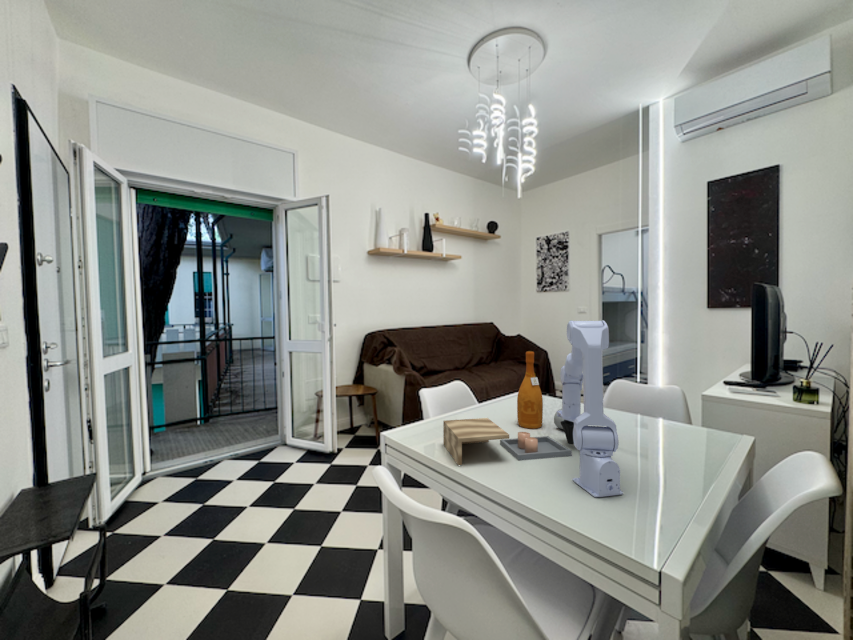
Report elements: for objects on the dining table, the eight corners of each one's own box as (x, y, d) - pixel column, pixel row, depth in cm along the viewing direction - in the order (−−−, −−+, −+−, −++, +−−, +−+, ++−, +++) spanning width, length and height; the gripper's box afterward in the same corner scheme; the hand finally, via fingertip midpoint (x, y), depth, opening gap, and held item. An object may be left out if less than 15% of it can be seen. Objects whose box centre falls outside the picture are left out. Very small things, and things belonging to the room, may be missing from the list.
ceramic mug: (569, 435, 132) (569, 414, 132) (553, 428, 139) (553, 409, 139) (590, 431, 136) (590, 411, 136) (573, 425, 143) (573, 406, 143)
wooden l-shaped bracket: (509, 461, 108) (509, 434, 108) (458, 466, 105) (458, 438, 105) (487, 441, 125) (487, 417, 125) (443, 444, 122) (443, 420, 122)
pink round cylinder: (540, 455, 112) (540, 440, 112) (528, 456, 112) (528, 441, 112) (534, 450, 116) (533, 436, 116) (522, 451, 116) (522, 437, 116)
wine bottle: (516, 428, 140) (516, 352, 139) (517, 421, 149) (517, 349, 149) (542, 430, 137) (543, 352, 136) (542, 423, 146) (542, 350, 146)
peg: (532, 448, 118) (532, 434, 118) (522, 449, 117) (522, 435, 117) (525, 444, 122) (525, 431, 122) (515, 445, 120) (515, 432, 121)
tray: (571, 458, 112) (571, 450, 112) (518, 463, 108) (518, 455, 108) (548, 442, 126) (548, 436, 126) (500, 446, 122) (500, 439, 122)
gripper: (596, 407, 113) (596, 450, 113) (569, 397, 128) (569, 435, 128) (576, 409, 112) (576, 452, 112) (551, 398, 126) (551, 436, 126)
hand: (571, 443), depth 120 cm, fingers closed
